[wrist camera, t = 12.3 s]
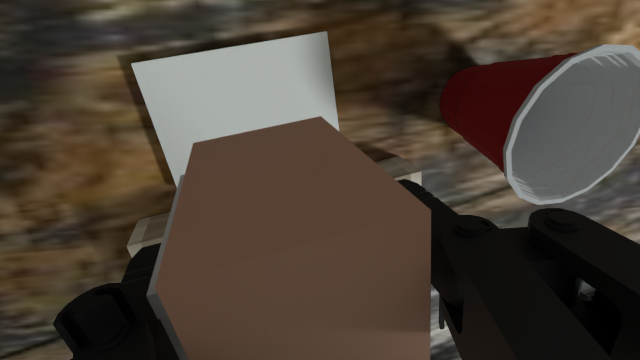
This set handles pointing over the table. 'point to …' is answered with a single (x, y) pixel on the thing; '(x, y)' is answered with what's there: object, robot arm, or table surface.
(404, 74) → the table surface
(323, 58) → the pad
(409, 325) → the block
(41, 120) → the table surface
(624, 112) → the plastic cup
